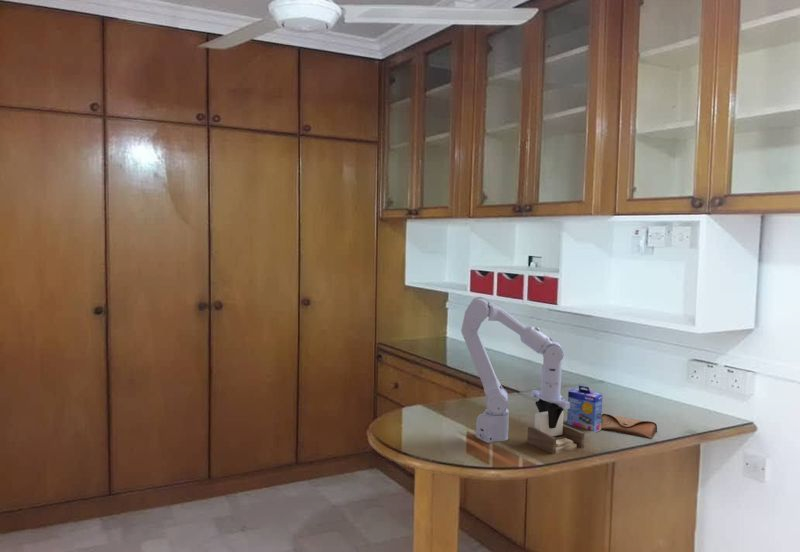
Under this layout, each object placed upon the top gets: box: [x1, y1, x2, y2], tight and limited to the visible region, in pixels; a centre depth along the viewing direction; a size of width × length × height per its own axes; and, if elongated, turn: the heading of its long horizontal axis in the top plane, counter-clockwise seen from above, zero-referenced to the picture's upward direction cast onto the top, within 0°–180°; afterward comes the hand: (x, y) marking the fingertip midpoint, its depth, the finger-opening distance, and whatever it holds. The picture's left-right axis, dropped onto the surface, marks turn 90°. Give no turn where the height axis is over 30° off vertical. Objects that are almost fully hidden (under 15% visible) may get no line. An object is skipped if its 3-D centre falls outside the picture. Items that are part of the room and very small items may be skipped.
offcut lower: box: [556, 443, 577, 452], centre depth 187 cm, size 8×4×1 cm, turn 119°
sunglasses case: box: [600, 413, 658, 440], centre depth 208 cm, size 18×7×7 cm, turn 62°
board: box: [533, 410, 565, 436], centre depth 191 cm, size 9×2×7 cm, turn 119°
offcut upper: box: [556, 438, 573, 447], centre depth 187 cm, size 6×3×1 cm, turn 119°
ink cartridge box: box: [566, 385, 603, 433], centre depth 208 cm, size 10×6×14 cm, turn 48°
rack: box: [526, 423, 585, 455], centre depth 189 cm, size 12×11×6 cm
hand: (548, 426), depth 191 cm, fingers closed on board, 2 cm apart
